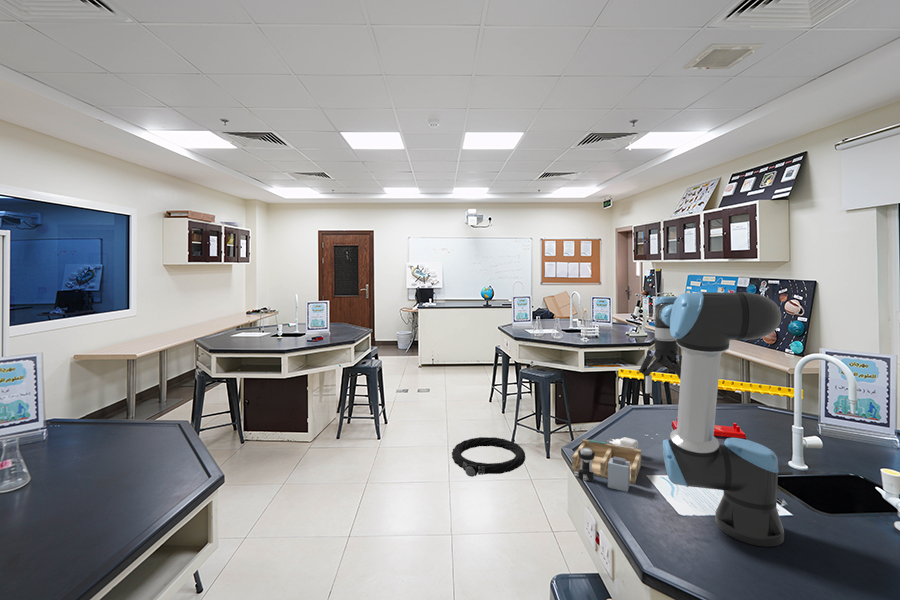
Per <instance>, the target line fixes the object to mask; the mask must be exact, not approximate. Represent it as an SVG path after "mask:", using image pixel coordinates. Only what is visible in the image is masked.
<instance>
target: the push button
mask: <svg viewBox="0 0 900 600" xmlns="http://www.w3.org/2000/svg"><path fill="white" fill-rule="evenodd" d="M578 454H579V457H580V458H581V467H580V470H579V471H573V473H574V474H573V476H576V477H578V479H580V480H583V481H587V482H591V483H592V482H593V481H594V479H595V475H594V472H593V470H592V459H594V456H595V453H594V452H593V451H592V450H591V449H589V448H581V450H579V451H578ZM583 460H584V461H583Z"/></svg>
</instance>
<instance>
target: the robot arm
mask: <svg viewBox="0 0 900 600" xmlns="http://www.w3.org/2000/svg"><path fill="white" fill-rule="evenodd" d="M654 308H655V309H654V315H655V316H654V317H655V318H654V320H655V322H654V324H655V325H654V339H655V340H654V349H649V350H646V356H645V358H644V360H643V363H641V366H640V367H639V370H638V372H639V373H640V374H642V375H643V384H645V386H644V387H645V392H644V393H645V394H652V391H653V387H652V386H653V375H651V374H652V373H653V371H655V370H656V368H657V367H658V366H659V365H661V366H662V365H664V366H667V367H670V368H672V370H673V371H674V373H675V375H677V377H678V379H679V381H680V382H679V391H678V392H679V394H678V395H679V396H678V407H677V408H678V409H677V423H676V424H677V425H676V429H673V430H672V431H671V432H670V435H669V438H666V439H663V441H662V455H663V461H664V466H665V470H666V471H665V472H666V474H667V477H668V480H669V481H670V483H672V484H673V485H677V486H684V487H685V488H686V487H687V488H689V487H691V488H700V489H701V488H702V489H709V490H718V491H719V490H720V491H723V494H722V495H723V496H722V497H721V500H720V502H719V504H718V506H717V508H716V511H715V512H714V513H715V515H714V519H715V520H714V521H715V524H716V526H717V527H718V529H719V530H720V531H722V532H723V533H724V534H726V535H727V536H730V537H731V538H732V539H735V540H737V541H740V542H743V543H745V544H749V545H753V546H758V547H767V548H770V547H778V546H781V544H783V543H784V541H785V530H784V529H785V528H784V527H783V526H784V525H783V524H782V520H781V517H780V515H779V512H778V509H777V502H778V501H777V500H778V479H779V478H778V477H779V472H780V470H779V462H778V460H779V459H778V456H777V454H776V453H775V452H774V451H773V450H772V449H770V448H768V447H767V446H765V445H763V444H761V443H758V442H755V441H753V440H749V439H744V438H739V437H727V438H726V439H725V441H724V442H723V444H720V442H719V440H718V438H716V437H715V436H714V434H715V424H716V423H715V421H716V413H717V402H718V401H717V399H718V391H719V390H718V389H719V379H720V369H721V359H722V358H721V357H722V354H723V353H725V352H726V351H728V350H729V348H730V341H733V340H734V341H749V340H758V339H761V338H764V337H768V336H769V335H771V334H772V333H773V332H775V331H776V330H777V328H779V326H780V324H781V321H782V312H781V310H780V307H779V306H778V304H777V303H776V302H775V301H774V300H772V299H771V298H769V297H767V296H765V295H762V294H758V293H754V292H753V293H752V292H744V291H743V292H742V291H740V292H716V291H715V292H711V291H710V292H709V291H708V292H706V291H705V292H704V291H703V292H702V291H696V292H682V293H680V295H678V296H669V295H668V296H666V295H665V296H657V297H655V304H654ZM679 348H680V349H681V352H682V353H681V355H680V354H678V351H679ZM654 357H655V359H654ZM653 359H654V360H653ZM652 360H653V361H652ZM678 361H679V362H678ZM651 362H652V363H651Z"/></svg>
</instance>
